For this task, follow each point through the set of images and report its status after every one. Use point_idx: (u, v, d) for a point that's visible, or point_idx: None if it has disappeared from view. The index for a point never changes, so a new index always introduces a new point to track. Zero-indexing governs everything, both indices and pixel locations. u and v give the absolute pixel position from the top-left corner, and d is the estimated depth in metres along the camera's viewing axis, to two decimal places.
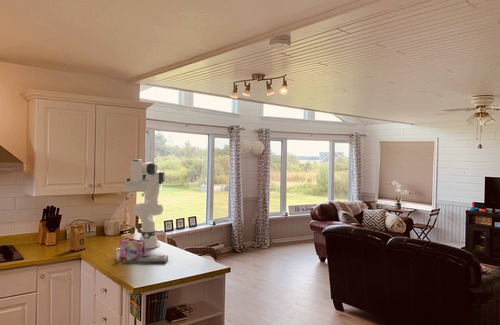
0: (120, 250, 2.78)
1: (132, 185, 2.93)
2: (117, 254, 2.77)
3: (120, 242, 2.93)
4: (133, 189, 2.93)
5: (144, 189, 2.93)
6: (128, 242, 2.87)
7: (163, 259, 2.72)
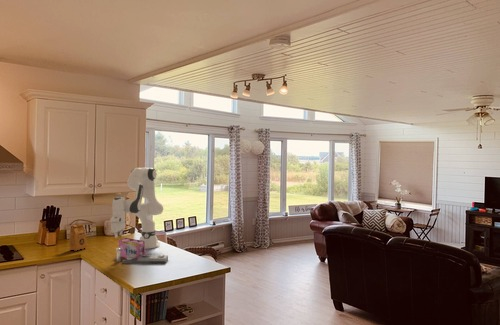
0: (120, 250, 2.78)
1: (118, 225, 2.75)
2: (117, 254, 2.77)
3: (119, 242, 2.93)
4: (119, 229, 2.76)
5: (123, 227, 2.85)
6: (128, 242, 2.87)
7: (163, 259, 2.72)
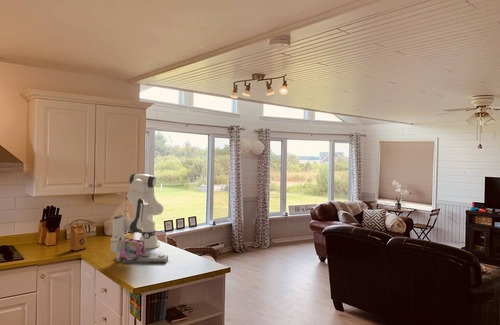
0: (120, 250, 2.78)
1: (119, 244, 2.75)
2: None
3: None
4: (119, 248, 2.76)
5: (124, 245, 2.85)
6: (128, 242, 2.87)
7: (163, 259, 2.72)
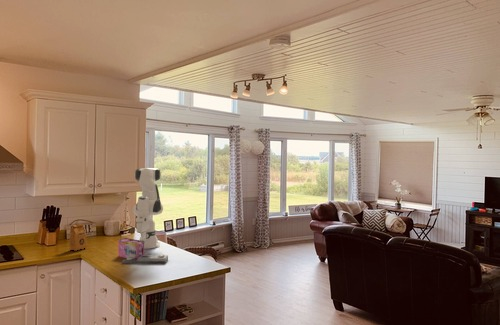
0: None
1: (143, 225, 2.73)
2: None
3: (119, 242, 2.93)
4: (144, 229, 2.74)
5: (148, 227, 2.83)
6: (127, 242, 2.87)
7: (163, 259, 2.72)
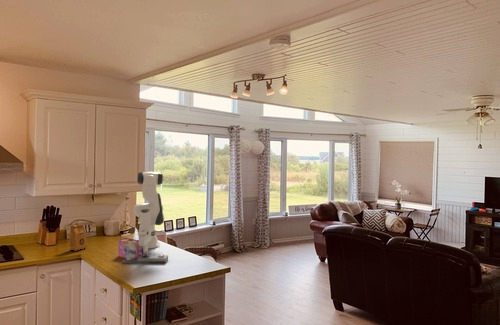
0: (147, 244, 2.76)
1: (146, 238, 2.73)
2: None
3: (119, 242, 2.92)
4: (146, 242, 2.74)
5: (150, 239, 2.83)
6: (127, 242, 2.87)
7: (163, 259, 2.72)
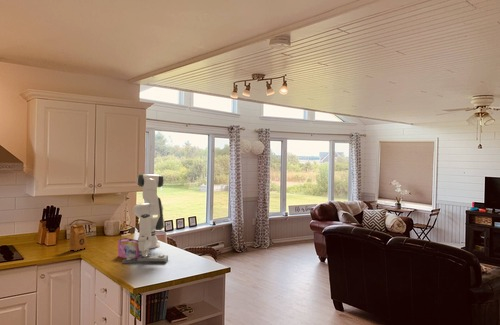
0: (147, 251, 2.76)
1: (146, 243, 2.73)
2: None
3: (119, 242, 2.92)
4: (146, 247, 2.74)
5: (150, 244, 2.83)
6: (127, 242, 2.87)
7: (163, 259, 2.72)
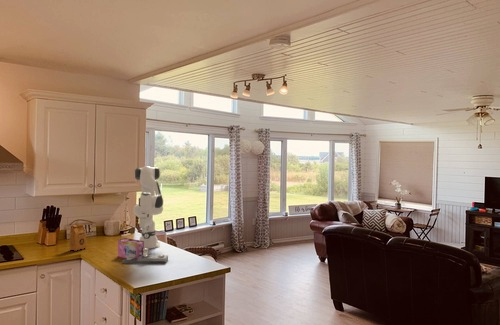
0: (147, 251, 2.76)
1: (146, 220, 2.75)
2: (144, 255, 2.75)
3: (119, 242, 2.92)
4: (147, 225, 2.76)
5: (150, 222, 2.85)
6: (127, 242, 2.87)
7: (163, 259, 2.72)
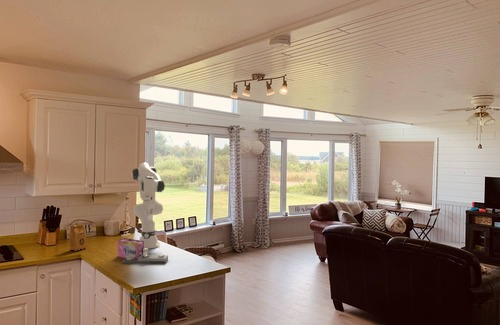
0: (147, 251, 2.76)
1: (150, 203, 2.84)
2: (144, 255, 2.75)
3: (118, 242, 2.92)
4: (150, 207, 2.85)
5: (154, 206, 2.94)
6: (127, 242, 2.87)
7: (163, 259, 2.72)
